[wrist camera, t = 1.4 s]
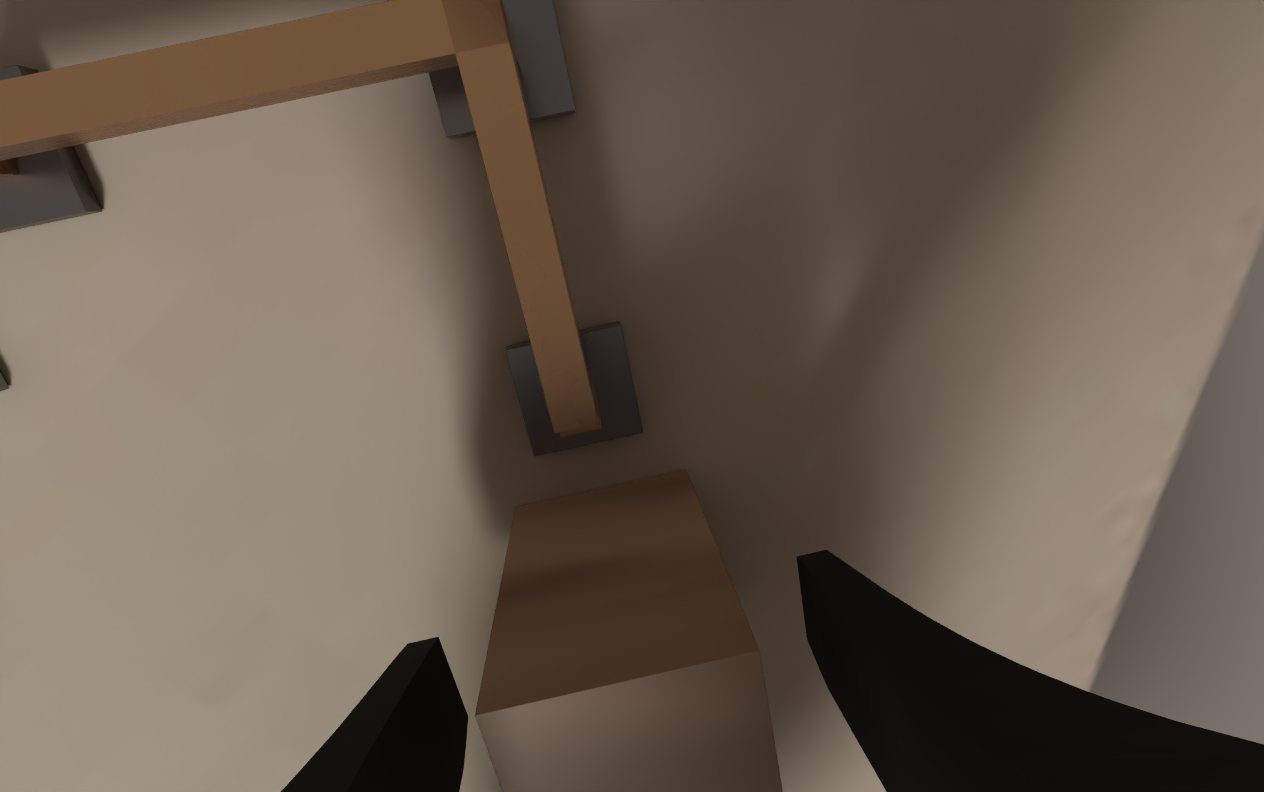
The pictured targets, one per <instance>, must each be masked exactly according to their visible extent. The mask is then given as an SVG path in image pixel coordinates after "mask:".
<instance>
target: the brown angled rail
mask: <svg viewBox="0 0 1264 792" xmlns="http://www.w3.org/2000/svg"><path fill="white" fill-rule="evenodd" d="M427 72H429V75H430V79H431V82H432V86H433V90H434V93H435V97H436V101H437V104H438V108H439V111H440V115H441V119H442V122H443V126H444V130H445V133H446V137H449V138H456V137H460V136H465V135H470V134H475V133H476V134H477V138H478V142H479V146H480V150H481V154H482V157H483V161H484V165H485V169H486V173H487V177H488V180H489V184H490V188H491V192H492V196H493V200H494V203H495V207H496V211H497V215H498V219H499V223H500V226H501V230H502V234H503V238H504V242H505V246H506V249H507V253H508V257H509V261H510V265H511V269H512V272H513V276H514V280H515V284H516V288H517V292H518V295H519V299H520V303H521V307H522V311H523V315H524V318H525V322H526V326H527V330H528V334H529V338H530V341H529V342H524V343H519V344H515V345H510V346H507V348H506V354H507V358H508V362H509V365H510V369H511V372H512V376H513V380H514V383H515V387H516V391H517V394H518V398H519V401H520V405H521V409H522V412H523V416H524V420H525V423H526V427H527V430H528V434H529V438H530V441H531V445H532V448H533V452H534V456H538V455H543V454H547V453H552V452H556V451H561V450H565V449H570V448H574V447H579V446H584V445H588V444H593V443H597V442H602V441H606V440H611V439H615V438H620V437H624V436H629V435H634V434H638V433H643V429H642V425H641V420H640V415H639V410H638V405H637V401H636V396H635V391H634V386H633V382H632V377H631V372H630V367H629V363H628V358H627V353H626V348H625V344H624V339H623V334H622V329H621V325H620V322H616V323H612V324H607V325H603V326H598V327H593V328H589V329H584V330H579V329H578V325H577V321H576V316H575V312H574V308H573V303H572V299H571V295H570V291H569V286H568V282H567V278H566V273H565V269H564V265H563V261H562V256H561V252H560V248H559V243H558V239H557V235H556V230H555V226H554V222H553V218H552V213H551V209H550V205H549V200H548V196H547V192H546V188H545V183H544V179H543V175H542V170H541V166H540V162H539V158H538V153H537V149H536V145H535V140H534V136H533V132H532V128H531V123H530V122H532V121H537V120H542V119H546V118H551V117H556V116H561V115H566V114H570V113H575V105H574V101H573V96H572V91H571V86H570V82H569V77H568V72H567V67H566V63H565V58H564V53H563V48H562V44H561V39H560V34H559V29H558V24H557V20H556V15H555V10H554V5H553V1H552V0H392V1H387V2H382V3H377V4H372V5H367V6H363V7H358V8H353V9H348V10H343V11H338V12H333V13H328V14H323V15H318V16H314V17H309V18H304V19H299V20H294V21H289V22H284V23H279V24H274V25H270V26H265V27H260V28H255V29H250V30H245V31H240V32H235V33H230V34H225V35H221V36H216V37H211V38H206V39H201V40H196V41H191V42H186V43H181V44H176V45H172V46H167V47H162V48H157V49H152V50H147V51H142V52H137V53H132V54H127V55H123V56H118V57H113V58H108V59H103V60H98V61H93V62H88V63H83V64H79V65H74V66H69V67H64V68H59V69H54V70H49V71H44V72H39V73H38V71H37V70H35V69H31V68H27V67H23V66H18V65H16V66H11V67H6V68H1V69H0V233H1V232H6V231H11V230H16V229H20V228H25V227H30V226H35V225H40V224H44V223H49V222H54V221H59V220H63V219H68V218H73V217H78V216H83V215H87V214H92V213H97V212H102V209H101V207H100V205H99V203H98V201H97V199H96V196H95V194H94V192H93V190H92V188H91V186H90V183H89V181H88V179H87V177H86V175H85V173H84V170H83V168H82V166H81V164H80V162H79V160H78V157H77V155H76V153H75V151H74V149H73V147H72V146H74V145H79V144H83V143H88V142H93V141H98V140H103V139H108V138H112V137H117V136H122V135H127V134H132V133H137V132H141V131H146V130H151V129H156V128H161V127H166V126H170V125H175V124H180V123H185V122H190V121H195V120H199V119H204V118H209V117H214V116H219V115H224V114H228V113H233V112H238V111H243V110H248V109H253V108H258V107H262V106H267V105H272V104H277V103H282V102H287V101H291V100H296V99H301V98H306V97H311V96H316V95H320V94H325V93H330V92H335V91H340V90H345V89H349V88H354V87H359V86H364V85H369V84H374V83H378V82H383V81H388V80H393V79H398V78H403V77H407V76H412V75H417V74H422V73H427Z"/></svg>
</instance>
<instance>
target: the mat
mask: <svg viewBox="0 0 1264 792" xmlns="http://www.w3.org/2000/svg"><path fill="white" fill-rule="evenodd" d="M8 388H9V387H8V385H7V383H6V382H5V380H4V378H3V376H2V375H1V373H0V391H2V390H5V389H8Z"/></svg>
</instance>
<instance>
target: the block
mask: <svg viewBox="0 0 1264 792" xmlns="http://www.w3.org/2000/svg"><path fill="white" fill-rule="evenodd" d="M475 717H476V720H477V723H478V725H479V728H480V731H481V734H482V736H483V739H484V742H485V745H486V747H487V750H488V753H489V755H490V758H491V761H492V764H493V766H494V769H495V772H496V775H497V777H498V780H499V783H500V786H501V788H502V791H503V792H783V791H782V784H781V778H780V772H779V766H778V760H777V754H776V748H775V742H774V736H773V730H772V724H771V718H770V712H769V705H768V699H767V693H766V687H765V681H764V675H763V669H762V663H761V657H760V651H759V648H758V646H757V643H756V641H755V638H754V636H753V633H752V631H751V628H750V626H749V624H748V621H747V619H746V616H745V614H744V611H743V609H742V606H741V604H740V601H739V599H738V596H737V594H736V592H735V589H734V587H733V584H732V582H731V579H730V577H729V574H728V572H727V569H726V567H725V564H724V562H723V560H722V557H721V555H720V552H719V550H718V547H717V545H716V542H715V540H714V537H713V535H712V532H711V530H710V528H709V525H708V523H707V520H706V518H705V515H704V513H703V510H702V508H701V505H700V503H699V501H698V498H697V496H696V493H695V491H694V488H693V486H692V483H691V481H690V478H689V476H688V473H687V471H686V469H684V470H679V471H675V472H670V473H666V474H661V475H657V476H652V477H648V478H643V479H639V480H634V481H630V482H625V483H621V484H616V485H612V486H607V487H603V488H598V489H594V490H589V491H585V492H580V493H576V494H571V495H567V496H562V497H558V498H553V499H549V500H544V501H540V502H535V503H531V504H526V505H522V506H517V507H516V508H515V513H514V518H513V523H512V528H511V533H510V539H509V544H508V549H507V554H506V559H505V564H504V569H503V575H502V580H501V585H500V590H499V595H498V600H497V605H496V610H495V616H494V621H493V626H492V631H491V636H490V641H489V646H488V651H487V657H486V662H485V667H484V672H483V677H482V682H481V687H480V693H479V698H478V703H477V708H476V713H475Z"/></svg>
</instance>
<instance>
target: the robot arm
mask: <svg viewBox="0 0 1264 792" xmlns="http://www.w3.org/2000/svg"><path fill="white" fill-rule="evenodd" d="M797 564H798V572H799V579H800V587H801V595H802V603H803V610H804V618H805V626H806V633H807V640H808V642H809V645H810V647H811V650H812V652H813V655H814V657H815V659H816V662H817V664H818V666H819V669H820V671H821V673H822V676H823V678H824V680H825V683H826V685H827V687H828V689H829V691H830V693H831V694H832V696H833V698H834V700H835V702H836V703H837V705H838V707H839V709H840V711H841V712H842V714H843V716H844V718H845V719H846V721H847V723H848V725H849V727H850V728H851V730H852V732H853V734H854V735H855V737H856V739H857V741H858V742H859V744H860V746H861V748H862V749H863V751H864V753H865V755H866V756H867V758H868V760H869V762H870V763H871V765H872V767H873V769H874V770H875V772H876V774H877V776H878V777H879V779H880V781H881V783H882V784H883V786H884V788H885V790H886V791H887V792H1264V745H1263V744H1259V743H1256V742H1252V741H1248V740H1244V739H1241V738H1237V737H1233V736H1230V735H1226V734H1222V733H1218V732H1215V731H1211V730H1207V729H1203V728H1200V727H1196V726H1192V725H1188V724H1185V723H1181V722H1177V721H1174V720H1171V719H1167V718H1164V717H1161V716H1158V715H1155V714H1152V713H1149V712H1146V711H1143V710H1140V709H1137V708H1133V707H1130V706H1127V705H1124V704H1121V703H1118V702H1115V701H1112V700H1109V699H1107V698H1104V697H1101V696H1098V695H1096V694H1093V693H1090V692H1087V691H1084V690H1082V689H1079V688H1077V687H1074V686H1072V685H1069V684H1067V683H1064V682H1062V681H1059V680H1057V679H1054V678H1052V677H1049V676H1047V675H1044V674H1041V673H1039V672H1037V671H1034V670H1032V669H1030V668H1028V667H1025V666H1023V665H1021V664H1018V663H1016V662H1014V661H1012V660H1010V659H1008V658H1006V657H1003V656H1001V655H999V654H997V653H995V652H993V651H991V650H989V649H987V648H985V647H982V646H980V645H978V644H976V643H974V642H972V641H971V640H969V639H967V638H965V637H963V636H961V635H959V634H957V633H955V632H954V631H952V630H950V629H948V628H947V627H945V626H943V625H941V624H939V623H938V622H936V621H934V620H932V619H931V618H929V617H927V616H925V615H924V614H922V613H920V612H919V611H917V610H916V609H914V608H912V607H911V606H909V605H908V604H906V603H904V602H903V601H901V600H900V599H898V598H897V597H895V596H893V595H892V594H890V593H889V592H887V591H886V590H884V589H883V588H881V587H880V586H878V585H877V584H875V583H874V582H872V581H871V580H870V579H868V578H867V577H865V576H864V575H862V574H861V573H859V572H858V571H857V570H855V569H854V568H852V567H851V566H849V565H848V564H847V563H845V562H844V561H842V560H841V559H839V558H838V557H836V556H835V555H833V554H832V553H830V552H829V551H828V550H824V551H819V552H815V553H810V554H806V555H801V556H797ZM467 724H468V715H467V712H466V710H465V707H464V704H463V702H462V699H461V696H460V694H459V691H458V688H457V685H456V683H455V680H454V677H453V675H452V672H451V669H450V667H449V664H448V661H447V659H446V656H445V653H444V651H443V648H442V645H441V643H440V640H439V637H436V638H431V639H427V640H422V641H418V642H413V643H409V644H407V645H406V646H405V648H404V649H403V650H402V651H401V652H400V653H399V654H398V656H397V657H396V658H395V659H394V660H393V662H392V663H391V664H390V665H389V666H388V668H387V669H386V670H385V671H384V673H383V674H382V675H381V676H380V678H379V679H378V680H377V681H376V682H375V684H374V685H373V686H372V687H371V689H370V690H369V691H368V692H367V694H366V695H365V696H364V697H363V698H362V700H361V701H360V702H359V703H358V704H357V706H356V707H355V708H354V709H353V710H352V712H351V713H350V714H349V715H348V717H347V718H346V719H345V720H344V721H343V723H342V724H341V725H340V726H339V727H338V729H337V730H336V731H335V732H334V733H333V734H332V736H331V737H330V738H329V739H328V740H327V741H326V742H325V743H324V744H323V746H322V747H321V748H320V749H319V750H318V751H317V752H316V753H315V755H314V756H313V757H312V758H311V759H310V760H309V761H308V762H307V764H306V765H305V766H304V767H303V768H302V769H301V770H300V771H299V773H298V774H297V775H296V776H295V777H294V778H293V779H292V780H291V781H290V782H289V784H288V785H287V786H286V787H285V788H284V789H283V790H282V791H281V792H459V789H460V785H461V780H462V775H463V768H464V759H465V749H466V737H467Z"/></svg>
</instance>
